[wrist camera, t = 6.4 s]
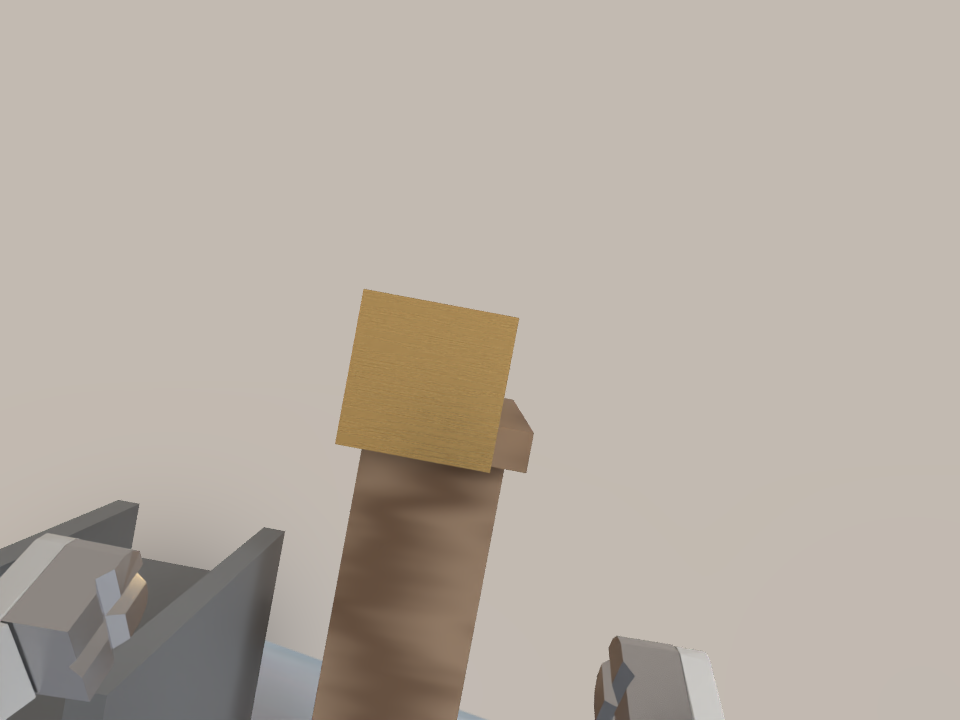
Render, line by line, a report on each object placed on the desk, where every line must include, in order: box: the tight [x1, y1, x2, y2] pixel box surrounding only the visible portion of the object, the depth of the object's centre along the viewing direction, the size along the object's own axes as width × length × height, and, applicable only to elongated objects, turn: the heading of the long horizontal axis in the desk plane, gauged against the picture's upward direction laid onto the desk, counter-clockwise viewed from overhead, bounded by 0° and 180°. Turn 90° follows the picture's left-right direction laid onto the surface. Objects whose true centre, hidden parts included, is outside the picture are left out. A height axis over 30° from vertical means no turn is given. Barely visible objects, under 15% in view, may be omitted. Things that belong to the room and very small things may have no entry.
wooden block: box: [335, 289, 519, 473], centre depth 25 cm, size 22×4×4 cm, turn 178°
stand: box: [312, 398, 534, 720], centre depth 31 cm, size 7×15×26 cm, turn 179°
